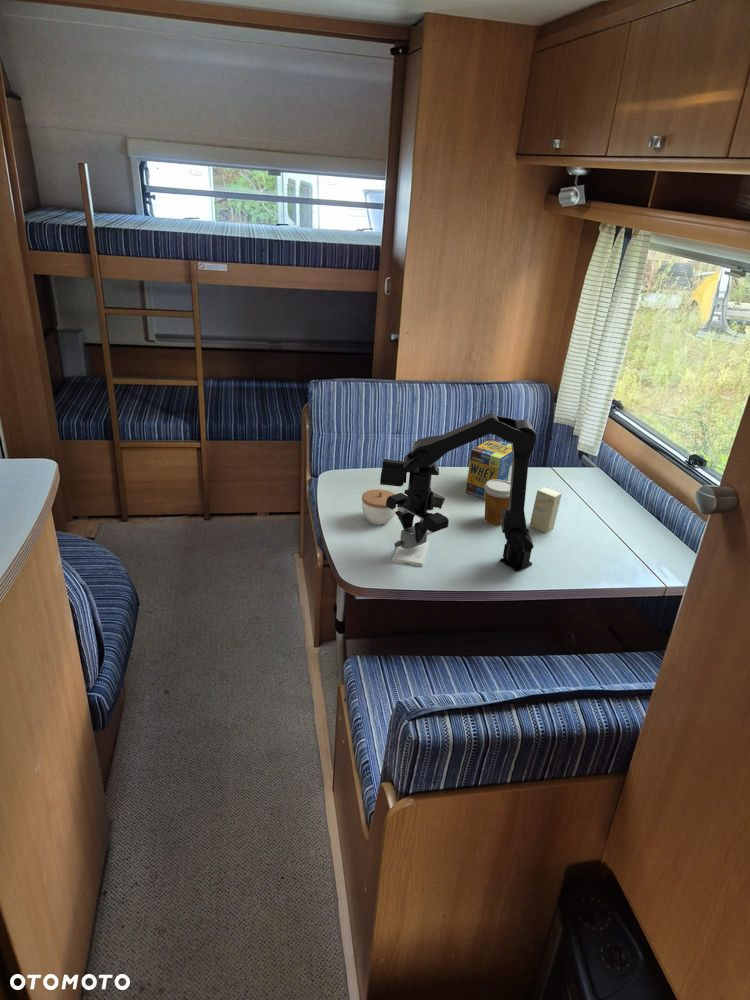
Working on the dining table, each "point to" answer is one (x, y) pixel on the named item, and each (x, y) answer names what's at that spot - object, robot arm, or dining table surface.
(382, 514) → the lidded jar
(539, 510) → the skincare box
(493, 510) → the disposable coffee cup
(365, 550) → the dining table surface
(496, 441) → the protein box
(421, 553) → the external hard drive
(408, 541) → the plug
